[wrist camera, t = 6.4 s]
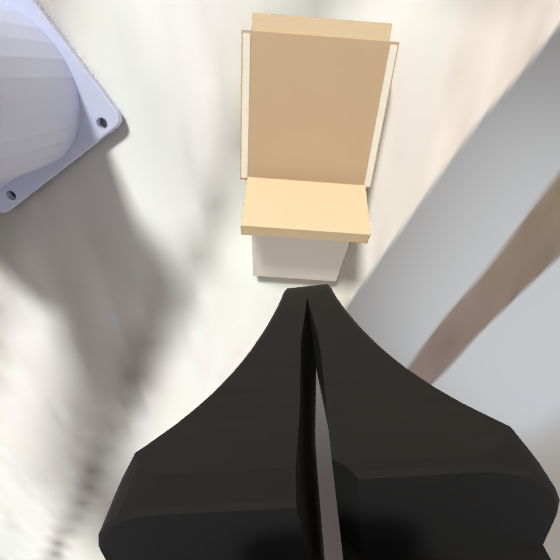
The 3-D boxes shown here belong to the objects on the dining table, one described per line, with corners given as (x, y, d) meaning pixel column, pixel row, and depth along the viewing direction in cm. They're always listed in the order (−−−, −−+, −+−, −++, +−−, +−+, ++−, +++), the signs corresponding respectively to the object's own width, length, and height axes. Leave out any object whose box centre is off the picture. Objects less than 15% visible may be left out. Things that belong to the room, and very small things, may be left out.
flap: (240, 225, 15) (245, 297, 21) (370, 234, 15) (342, 303, 21) (247, 177, 17) (250, 255, 22) (365, 185, 17) (340, 261, 22)
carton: (247, 18, 16) (241, 11, 14) (390, 29, 16) (403, 24, 14) (244, 169, 19) (240, 179, 17) (363, 178, 19) (370, 189, 17)
